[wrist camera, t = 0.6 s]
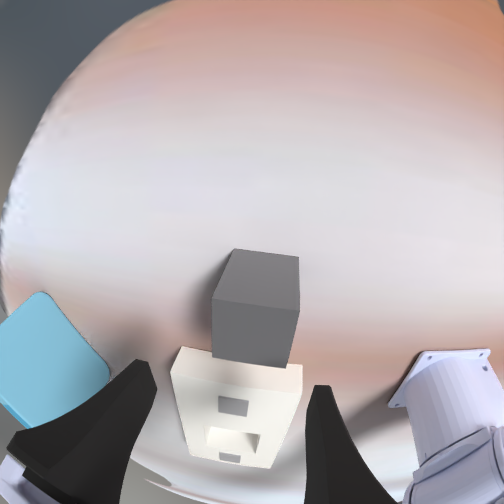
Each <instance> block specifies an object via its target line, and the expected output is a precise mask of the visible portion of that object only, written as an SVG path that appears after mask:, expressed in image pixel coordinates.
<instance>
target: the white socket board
mask: <svg viewBox="0 0 504 504" xmlns="http://www.w3.org/2000/svg"><path fill="white" fill-rule="evenodd" d="M170 374H171V379H172V384H173V388H174V393H175V397H176V402H177V406H178V410H179V414H180V418H181V422H182V426H183V430H184V434H185V438H186V441H187V445H188V448H189V452H190V455H192V456H197V457H201V458H205V459H210V460H215V461H220V462H225V463H231V464H237V465H244V466H251V467H259V468H268V469H270V468H271V466H272V464H273V462H274V460H275V458H276V455H277V453H278V451H279V449H280V447H281V444H282V442H283V440H284V437H285V435H286V433H287V430H288V428H289V426H290V423H291V421H292V418H293V416H294V414H295V411H296V409H297V406H298V403H299V401H300V398H301V396H302V365H298V364H289V363H287V366H286V369H285V368H276V367H268V366H261V365H254V364H247V363H241V362H235V361H229V360H223V359H218V358H213V357H212V352H209V351H204V350H199V349H194V348H189V347H184V346H182V347H181V349H180V351H179V354H178V356H177V358H176V360H175V362H174V364H173V367H172V369H171V371H170Z"/></svg>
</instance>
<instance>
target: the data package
mask: <svg viewBox="0 0 504 504" xmlns="http://www.w3.org/2000/svg"><path fill="white" fill-rule="evenodd" d="M109 376H110V373H109V368H108V366H107V364H106V363H105V361H104V360H103V359H102V358H101V357H100V356H99V355H98V354H97V353H96V352H95V351H94V350H93V348H92V347H91V346H90V345H89V344H88V343H87V342H86V341H85V339H84V338H83V337H82V336H81V335H80V334H79V332H78V331H77V330H76V329H75V328H74V326H73V325H72V324H71V323H70V321H69V320H68V319H67V318H66V316H65V315H64V314H63V313H62V311H61V310H60V309H59V307H58V306H57V305H56V303H55V302H54V301H53V299H52V298H51V297H50V296H49V295H48V294H46V293H43V292H37V293H34V294H33V295H32V296H31V297H30V298H29V299H27V300H26V301H25V302H24V303H23V304H22V305H21V306H20V307H19V308H17V309H16V310H15V311H14V312H13V313H12V314H11V315H10V316H9V317H8V318H7V319H6V320H5V321H4V322H3V323H2V324H1V325H0V403H2V405H3V406H4V407H5V408H6V409H7V410H8V411H9V412H10V413H11V414H12V415H13V416H14V417H15V418H16V419H17V420H18V421H19V422H20V423H22V424H23V425H24V426H25V427H26V428H27V429H29V428H33V427H36V426H39V425H42V424H44V423H47V422H49V421H52V420H54V419H56V418H58V417H60V416H62V415H64V414H66V413H68V412H69V411H71V410H73V409H74V408H76V407H78V406H79V405H81V404H82V403H84V402H85V401H87V400H88V399H89V398H91V397H92V396H93V395H95V394H96V393H97V392H99V391H100V390H101V389H102V388H103V387H105V385H106V384H107V382H108V380H109Z"/></svg>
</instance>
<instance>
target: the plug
mask: <svg viewBox="0 0 504 504" xmlns="http://www.w3.org/2000/svg"><path fill="white" fill-rule="evenodd" d="M299 312H300V291H299V257H296V256H288V255H281V254H273V253H265V252H258V251H250V250H242V249H234V250H233V252H232V254H231V257H230V259H229V261H228V263H227V265H226V267H225V270H224V272H223V274H222V276H221V278H220V280H219V283H218V285H217V287H216V289H215V291H214V294H213V296H212V298H211V320H212V357H213V358H218V359H223V360H229V361H235V362H241V363H247V364H254V365H261V366H268V367H276V368H285V369H286V366H287V362H288V358H289V354H290V350H291V346H292V342H293V338H294V334H295V330H296V325H297V321H298V317H299Z"/></svg>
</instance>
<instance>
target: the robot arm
mask: <svg viewBox="0 0 504 504" xmlns="http://www.w3.org/2000/svg"><path fill="white" fill-rule="evenodd" d="M490 352H491V351H490V350H489V349H474V350H455V351H424V352H422V353H421V354H420V355H419V357H418V359H417V360H416V362H415V364H414V365H413V367H412V368H411V370H410V372H409V373H408V375H407V376H406V378H405V379H404V381H403V382H402V384H401V385H400V387H399V388H398V390H397V391H396V393H395V394H394V395H393V397H392V398H391V400H390V401H389V402H388V407H389V408H396V407H407V411H408V415H409V419H410V424H411V428H412V432H413V437H414V441H415V446H416V451H417V456H418V461H419V467H420V468H419V469H418V470H416V471H414V472H413V478H414V481H412V482H411V483H410V484H409V486H408V487H407V490H406V492H405V495H404V499H403V503H402V504H504V390H503V388H502V386H501V384H500V382H499V380H498V378H497V376H496V375H495V373H494V371H493V369H492V367H491V365H490V363H489V362H488V360H487V357H488V356H489V354H490ZM156 392H157V387H156V384H155V381H154V378H153V375H152V373H151V370H150V367H149V364H148V362H146V361H142V360H138V359H136V360H134V361H133V362H132V363H131V364H130V365H129V366H128V367H126V368H125V369H124V370H123V371H122V372H121V373H120V374H119V375H118V376H116V377H115V378H114V379H113V380H112V381H111V382H109V383H108V384H107V385H106V386H105V387H103V388H102V389H101V390H100V391H99V392H97V393H96V394H95V395H93V396H92V397H91V398H89V399H88V400H87V401H85V402H84V403H82V404H81V405H79V406H78V407H76V408H74V409H73V410H71V411H69V412H68V413H66V414H64V415H62V416H60V417H58V418H56V419H54V420H52V421H49V422H47V423H44V424H42V425H39V426H36V427H33V428H29V429H25V430H22V431H17V432H16V433H15V435H14V437H13V438H12V440H11V441H10V443H9V445H8V446H7V450H8V451H9V452H10V453H11V454H12V455H13V456H15V457H16V458H17V459H18V460H19V461H21V462H22V463H23V464H24V465H26V466H27V467H26V469H25V468H24V467H23V466H21V465H20V464H19V463H18V462H16V461H15V460H14V459H13V458H11V457H10V456H9V455H7V456H6V457H5V459H4V461H3V462H2V464H1V466H0V494H1V495H2V496H3V497H4V498H5V499H6V500H7V502H8V503H9V504H119V500H120V494H121V489H122V484H123V480H124V475H125V472H126V468H127V464H128V461H129V458H130V455H131V451H132V449H133V446H134V444H135V442H136V439H137V437H138V435H139V433H140V431H141V429H142V427H143V425H144V423H145V420H146V418H147V416H148V414H149V412H150V410H151V408H152V405H153V402H154V399H155V395H156ZM305 439H306V467H307V479H306V491H305V500H304V504H398V503H397V502H396V501H395V500H394V499H393V498H392V497H391V496H390V495H389V494H388V493H387V491H386V490H385V489H384V488H383V487H382V485H381V484H380V483H379V482H378V480H377V479H376V478H375V477H374V475H373V474H372V472H371V471H370V469H369V468H368V466H367V465H366V463H365V462H364V460H363V459H362V457H361V455H360V454H359V452H358V450H357V448H356V446H355V445H354V443H353V441H352V439H351V437H350V435H349V433H348V430H347V428H346V426H345V424H344V422H343V419H342V417H341V415H340V412H339V409H338V407H337V404H336V401H335V398H334V395H333V392H332V389H331V387H330V386H329V385H315V386H314V389H313V392H312V395H311V399H310V402H309V405H308V408H307V412H306V427H305Z"/></svg>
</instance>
